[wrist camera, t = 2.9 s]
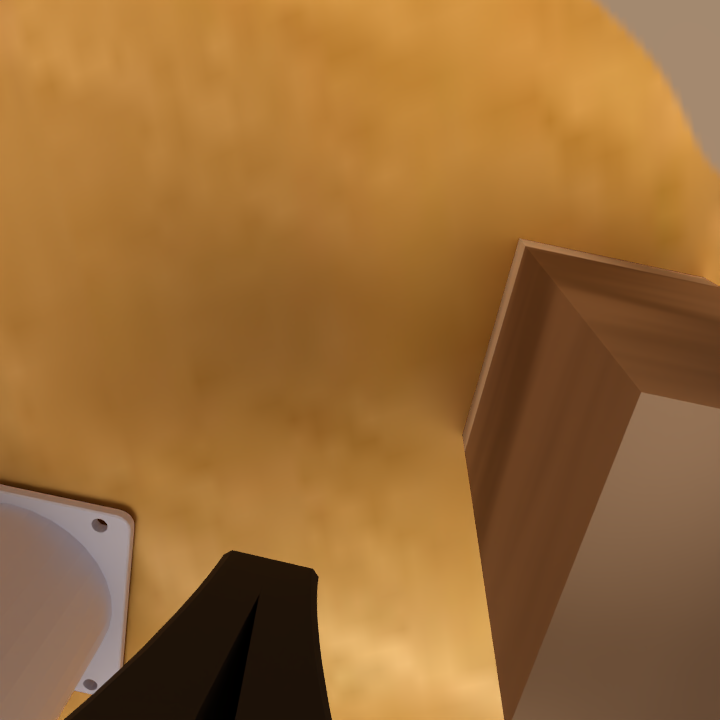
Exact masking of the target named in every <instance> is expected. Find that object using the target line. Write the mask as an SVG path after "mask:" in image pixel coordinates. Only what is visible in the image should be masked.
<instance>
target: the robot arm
mask: <svg viewBox="0 0 720 720" xmlns="http://www.w3.org/2000/svg"><path fill="white" fill-rule="evenodd" d="M98 519H102V520H104V521H105V522H106V523H107V525H103V524H101V523H100V522H99V521H98ZM133 537H134V520H133V519H132V517H131V516H130V515H129V514H128V513H127V512H125V511H122V510H119V509H114V508H110V507H105V506H100V505H96V504H91V503H86V502H81V501H77V500H72V499H67V498H63V497H58V496H53V495H48V494H44V493H39V492H34V491H30V490H25V489H20V488H15V487H11V486H6V485H1V484H0V720H57V719H58V717H59V716H60V714H61V712H62V711H63V709H64V707H65V705H66V704H67V702H68V700H69V698H70V697H71V695H72V693H73V692H74V691H79V692H83V693H88V694H92V695H91V696H90V697H89V698H88V699H87V700H86V701H85V702H84V703H83V704H81V705H80V706H79V707H78V708H77V709H76V710H74V711H73V712H72V713H71V714H70V715H69V716H67V717H66V718H65V719H64V720H332V718H331V713H330V708H329V703H328V697H327V691H326V684H325V678H324V672H323V666H322V659H321V652H320V643H319V632H318V620H317V584H318V576H317V574H316V573H315V571H314V570H313V569H311V568H307V567H303V566H298V565H294V564H290V563H285V562H281V561H277V560H272V559H268V558H264V557H259V556H255V555H251V554H246V553H242V552H238V551H233V550H232V551H230V552H228V553H226V554H224V555H223V557H222V558H221V559H220V561H219V562H218V564H217V565H216V566H215V568H214V569H213V570H212V571H211V573H210V574H209V575H208V577H207V578H206V579H205V580H204V581H203V583H202V584H201V585H200V586H199V587H198V589H197V590H196V591H195V592H194V593H193V594H192V596H191V597H190V598H189V599H188V600H187V601H186V602H185V603H184V605H183V606H182V607H181V608H180V609H179V610H178V611H177V612H176V613H175V614H174V616H173V617H172V618H171V619H170V620H169V621H168V622H167V623H166V624H165V625H164V626H163V627H162V628H161V629H160V630H159V631H158V632H157V633H156V634H155V635H154V636H153V637H152V638H151V639H150V640H149V641H148V642H147V643H146V644H145V646H144V647H143V648H142V649H141V650H140V651H139V652H138V653H137V654H135V655H134V656H133V657H132V658H131V659H130V660H129V661H128V662H127V663H126V664H125V665H124V666H123V659H124V647H125V635H126V623H127V610H128V598H129V586H130V574H131V561H132V549H133Z"/></svg>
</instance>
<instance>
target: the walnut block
mask: <svg viewBox="0 0 720 720" xmlns="http://www.w3.org/2000/svg"><path fill="white" fill-rule="evenodd" d="M462 436H463V442H464V449H465V456H466V463H467V469H468V476H469V483H470V490H471V497H472V503H473V510H474V517H475V524H476V530H477V537H478V544H479V551H480V558H481V564H482V571H483V578H484V585H485V592H486V598H487V605H488V612H489V619H490V625H491V632H492V639H493V646H494V653H495V659H496V666H497V673H498V680H499V687H500V693H501V700H502V707H503V714H504V720H720V287H719V286H717V285H716V284H714V283H712V282H711V281H709V280H707V279H706V278H703V277H698V276H694V275H689V274H684V273H680V272H675V271H670V270H666V269H661V268H656V267H651V266H647V265H642V264H637V263H633V262H628V261H623V260H619V259H614V258H609V257H604V256H600V255H595V254H590V253H586V252H581V251H576V250H571V249H567V248H562V247H557V246H553V245H548V244H543V243H539V242H534V241H529V240H524V239H520V238H519V241H518V245H517V248H516V252H515V255H514V259H513V262H512V266H511V269H510V273H509V276H508V279H507V283H506V286H505V290H504V293H503V297H502V300H501V304H500V307H499V311H498V314H497V317H496V321H495V324H494V328H493V331H492V335H491V338H490V342H489V345H488V349H487V352H486V355H485V359H484V362H483V366H482V369H481V373H480V376H479V380H478V383H477V387H476V390H475V393H474V397H473V400H472V404H471V407H470V411H469V414H468V418H467V421H466V425H465V428H464V432H463V435H462Z"/></svg>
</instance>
